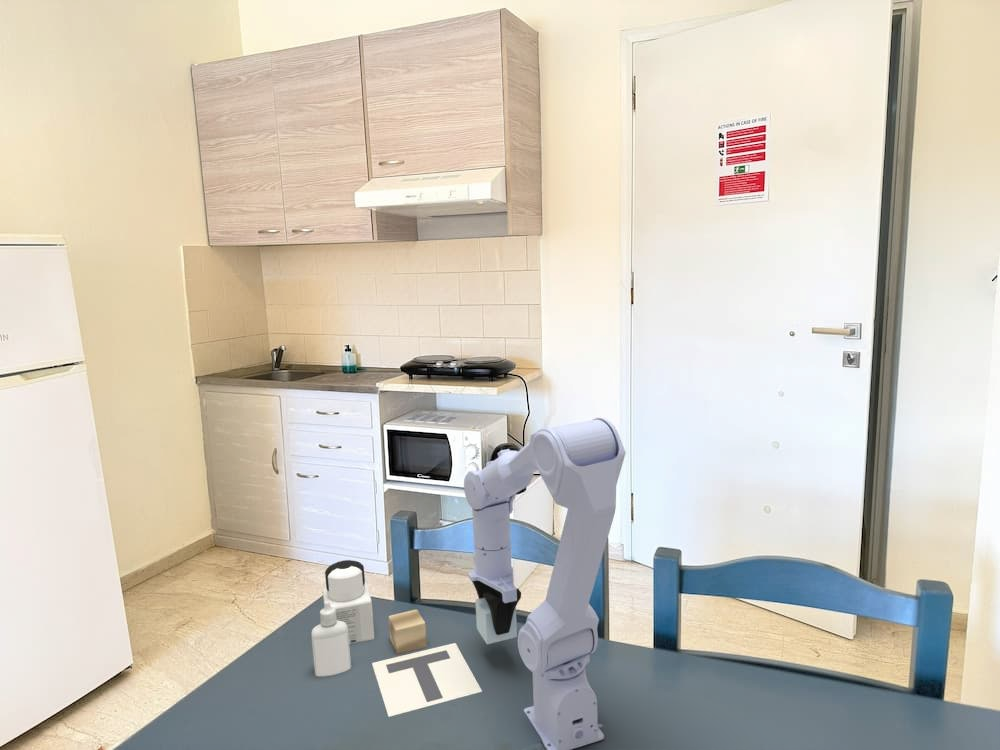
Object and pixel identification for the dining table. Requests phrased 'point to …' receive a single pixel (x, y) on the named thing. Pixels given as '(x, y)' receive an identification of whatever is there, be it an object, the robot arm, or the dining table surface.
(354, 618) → the container
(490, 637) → the pale blue cube
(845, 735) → the dining table surface
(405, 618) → the oak block
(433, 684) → the letter card
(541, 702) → the robot arm
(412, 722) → the dining table surface
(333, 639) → the eye dropper bottle
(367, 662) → the dining table surface
